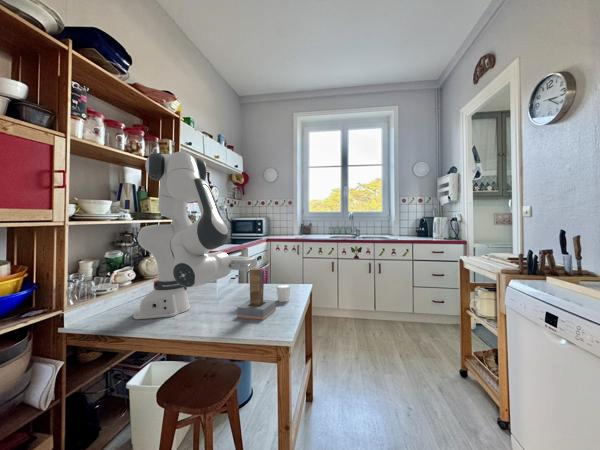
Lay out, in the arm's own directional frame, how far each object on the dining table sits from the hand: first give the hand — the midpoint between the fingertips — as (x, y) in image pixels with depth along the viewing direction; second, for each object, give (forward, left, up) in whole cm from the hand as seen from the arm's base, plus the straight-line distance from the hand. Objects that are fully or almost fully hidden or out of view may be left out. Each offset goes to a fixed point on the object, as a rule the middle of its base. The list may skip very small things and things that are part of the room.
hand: (240, 258), depth 101 cm
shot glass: (+24, +22, -25) cm, 41 cm away
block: (+8, +9, -24) cm, 27 cm away
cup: (+12, +26, -25) cm, 38 cm away
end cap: (+8, +9, -25) cm, 28 cm away
